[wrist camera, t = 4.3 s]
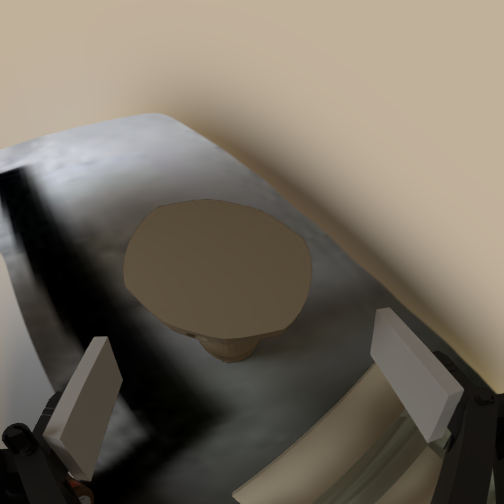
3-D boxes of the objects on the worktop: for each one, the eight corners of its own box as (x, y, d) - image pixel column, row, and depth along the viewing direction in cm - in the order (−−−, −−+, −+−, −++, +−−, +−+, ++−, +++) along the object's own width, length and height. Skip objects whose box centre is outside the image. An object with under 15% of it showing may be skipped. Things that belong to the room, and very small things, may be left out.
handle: (265, 383, 23) (295, 357, 9) (183, 361, 23) (104, 303, 10) (280, 323, 25) (321, 222, 11) (201, 304, 25) (154, 187, 12)
